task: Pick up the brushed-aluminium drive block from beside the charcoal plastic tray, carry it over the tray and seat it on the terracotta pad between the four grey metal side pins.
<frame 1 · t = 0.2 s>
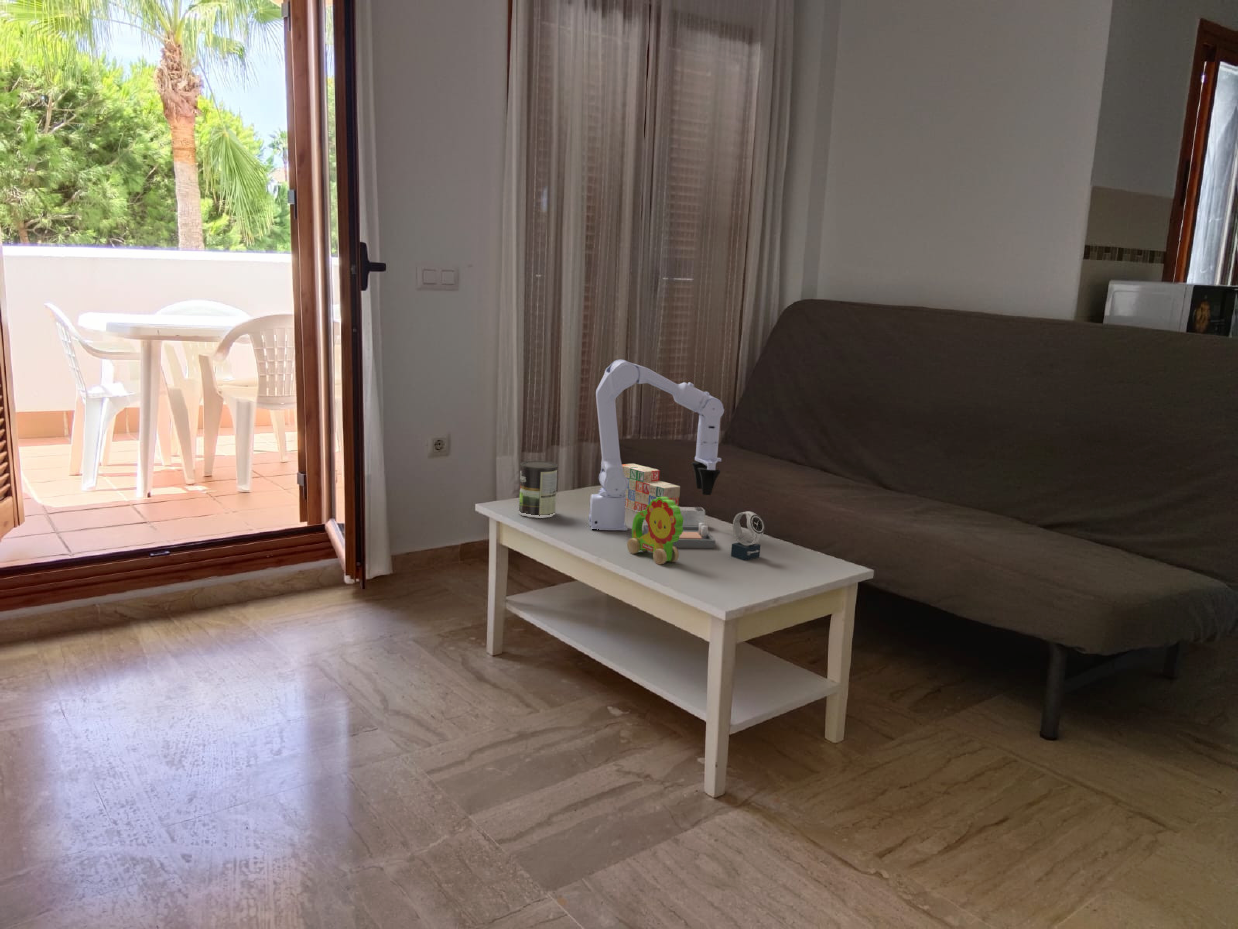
hand: (703, 491, 246), 10 cm above the table, fingers open, 7 cm apart
drive: (686, 526, 249), on the table
coffee can: (537, 514, 253), on the table
stack of blocks: (645, 512, 264), on the table
toy lion: (654, 559, 216), on the table
tray: (678, 540, 233), on the table
watch: (745, 557, 221), on the table
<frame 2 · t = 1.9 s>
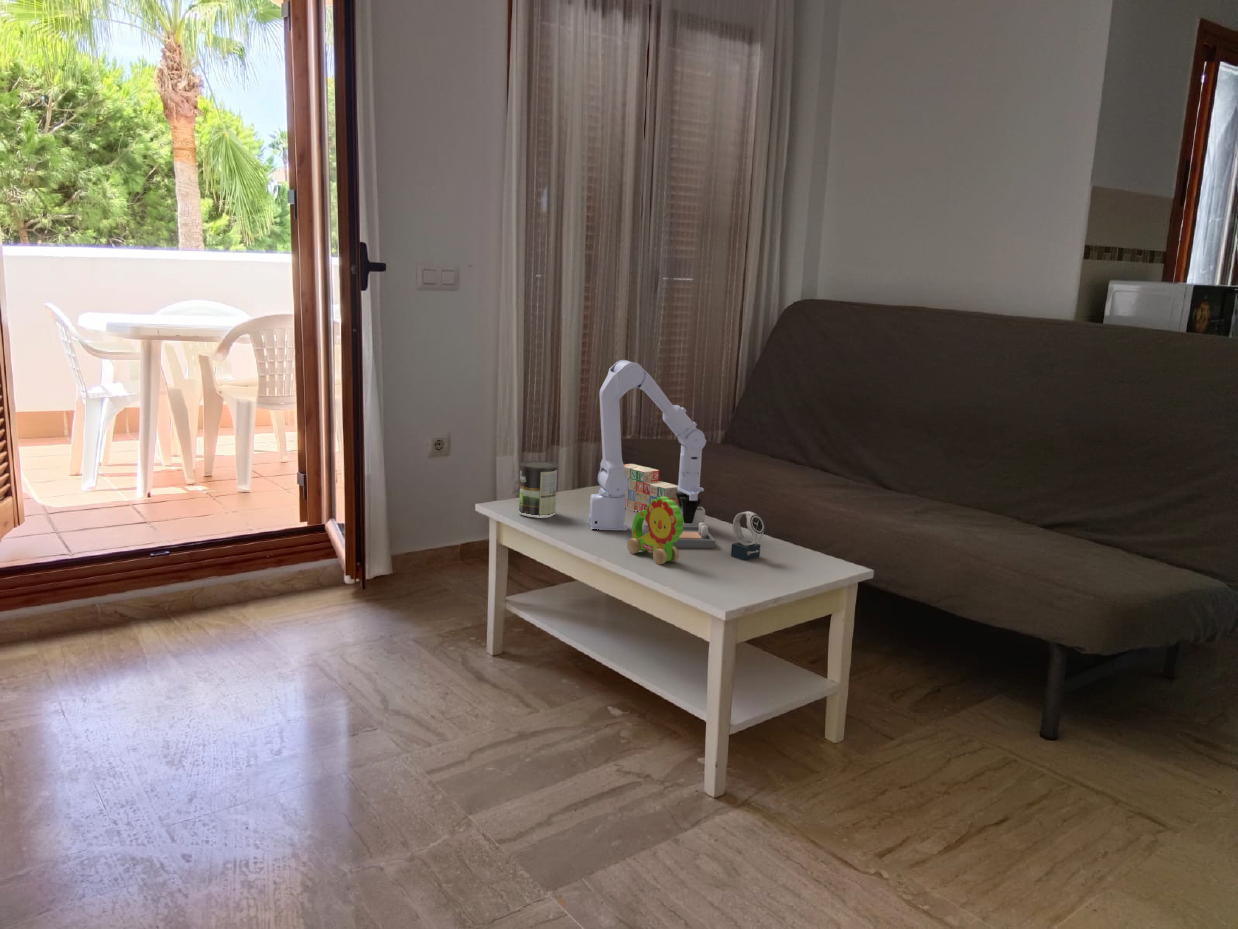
hand: (686, 521, 248), 1 cm above the table, fingers closed on drive, 4 cm apart
drive: (686, 526, 249), on the table, touching gripper
everything else where it was.
when the fingers open (4 cm above the table, at t = 5.5 s): drive stays where it is, resting on tray.
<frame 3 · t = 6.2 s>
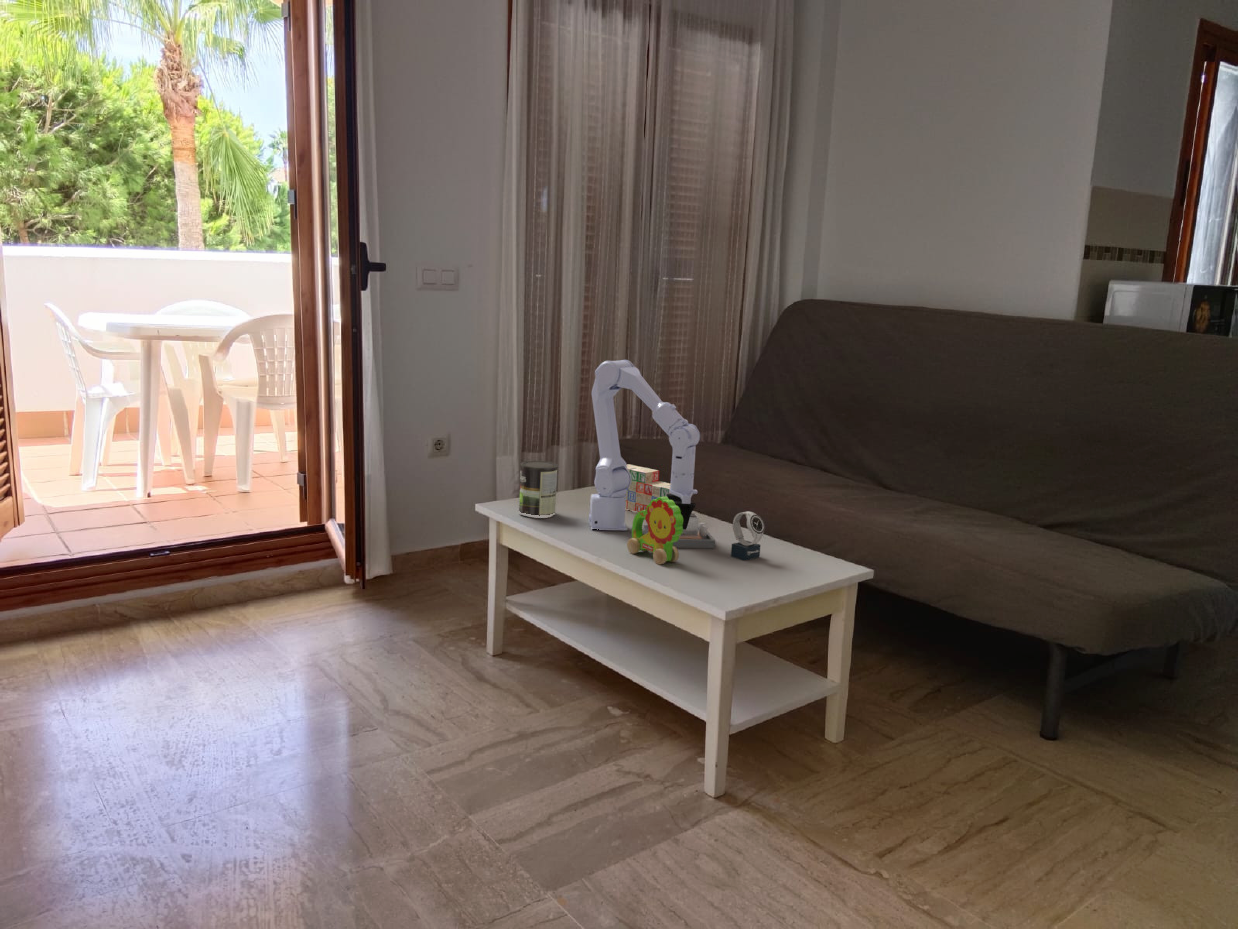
hand: (679, 525, 233), 4 cm above the table, fingers open, 7 cm apart
drive: (678, 534, 233), point 1 cm above the table, touching tray
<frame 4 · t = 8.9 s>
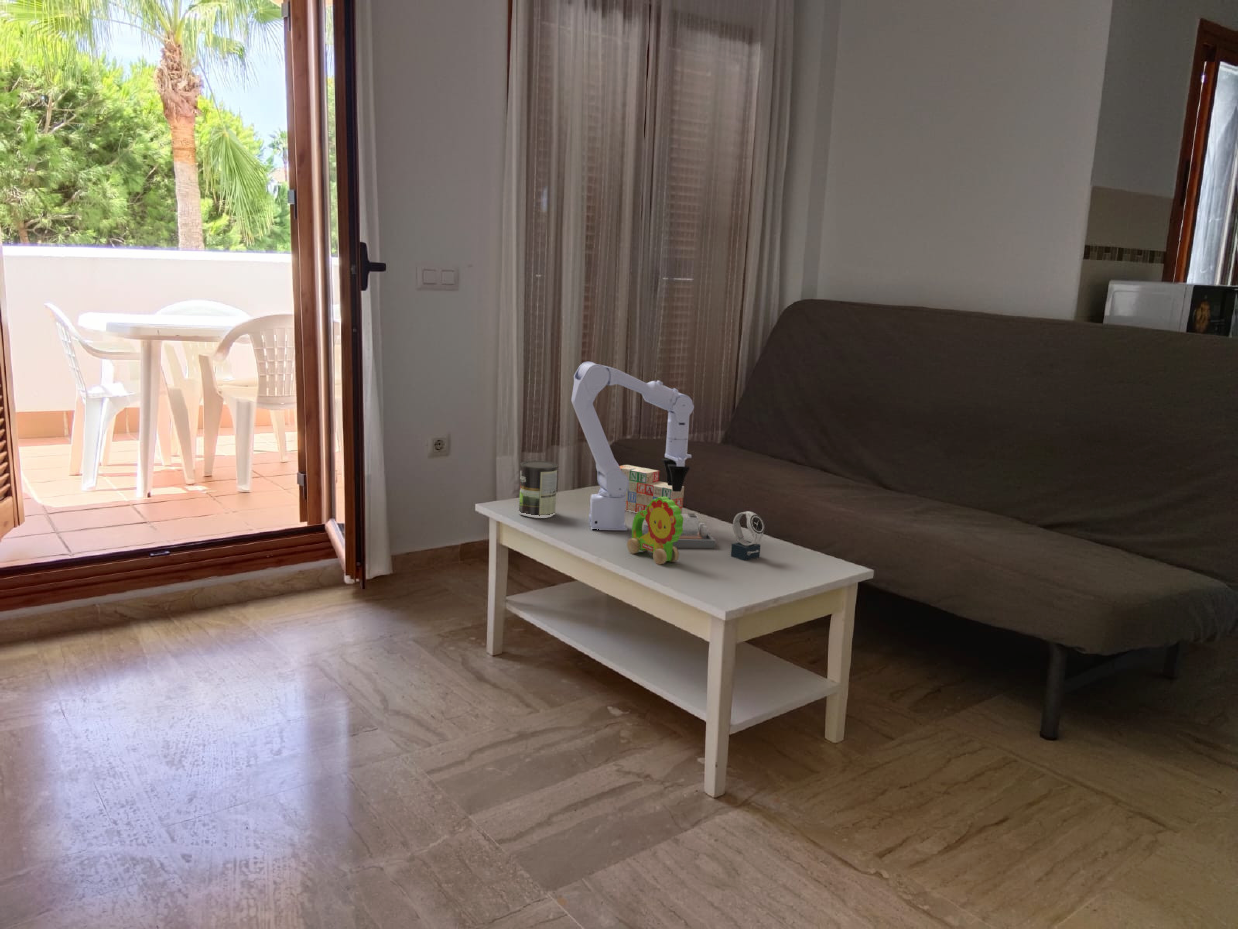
hand: (674, 488, 246), 10 cm above the table, fingers open, 7 cm apart
at the end: drive 0.0 cm off-centre on the tray, point 1.5 cm above the tray's base; drive tilted 0°; the gripper is holding nothing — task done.
